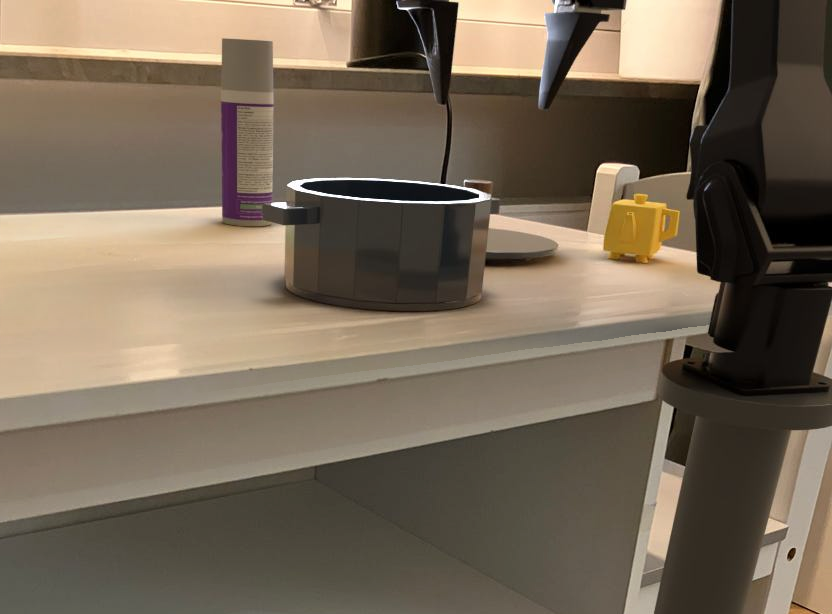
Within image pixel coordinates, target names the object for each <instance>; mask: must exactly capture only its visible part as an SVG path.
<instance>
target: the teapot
mask: <svg viewBox="0 0 832 614" xmlns="http://www.w3.org/2000/svg"><path fill="white" fill-rule="evenodd" d="M648 197H649V195H648V194H645V193H635V194H633V199H620V200H616V201H615V202H613V203H612V204H611V206H610V210H609V212H608V213H609V214H608V218H607V222H606V225H605V230H604V236H603V242H602V251H604V252H609V254H608V255H607V256H606V258H607V259H610V260H619V259H620V257H621V256H626V255H633V256H634V255H635V262H636V263H645V264H646V263H647V264H648V263H649V261H648V260H653V259H654V255H655V254H657V253H658V252H659V251H660V250H661V247H662V244H663V242H665V241H667V240H670V239H672V238H675V237H676V236H677V235H678V231H679V223H680V216H681V211H680V210H676V209H671V208H667V203H665V202H656V201H655V202H654V201H647V200H648ZM666 216H668V217H670V218H669V222H668V226H667V229H666V230H665V227H666Z"/></svg>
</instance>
